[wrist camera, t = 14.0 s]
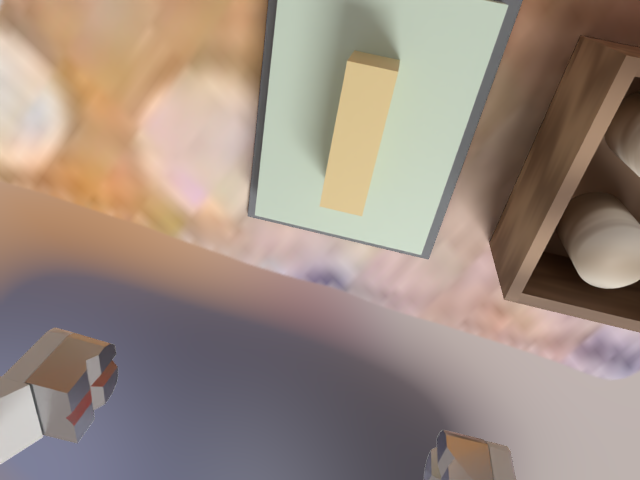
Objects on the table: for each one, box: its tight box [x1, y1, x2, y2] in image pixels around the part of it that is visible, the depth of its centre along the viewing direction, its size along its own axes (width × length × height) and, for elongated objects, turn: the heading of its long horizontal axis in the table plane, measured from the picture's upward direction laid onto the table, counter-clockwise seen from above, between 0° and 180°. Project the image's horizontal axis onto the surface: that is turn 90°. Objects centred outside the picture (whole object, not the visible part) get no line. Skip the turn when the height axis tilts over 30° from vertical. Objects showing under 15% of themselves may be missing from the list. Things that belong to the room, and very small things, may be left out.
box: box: [489, 35, 640, 332], centre depth 28 cm, size 15×11×7 cm
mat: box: [248, 0, 523, 259], centre depth 32 cm, size 20×15×1 cm
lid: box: [255, 0, 509, 255], centre depth 29 cm, size 17×13×6 cm
